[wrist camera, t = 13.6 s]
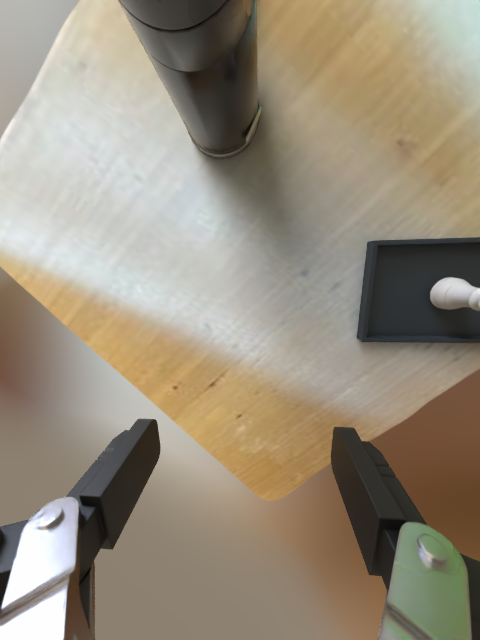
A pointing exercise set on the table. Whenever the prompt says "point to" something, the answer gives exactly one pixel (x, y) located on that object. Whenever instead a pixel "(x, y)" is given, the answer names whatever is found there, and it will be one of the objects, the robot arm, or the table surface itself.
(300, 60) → the table surface
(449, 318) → the tray
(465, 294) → the rook chess piece
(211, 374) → the table surface
